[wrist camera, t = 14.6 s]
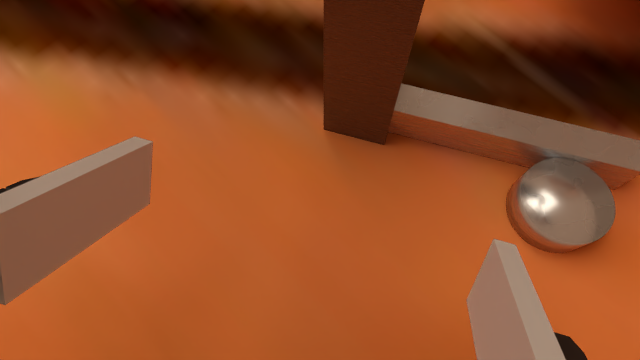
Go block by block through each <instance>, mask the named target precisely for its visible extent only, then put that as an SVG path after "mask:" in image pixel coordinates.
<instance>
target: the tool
mask: <svg viewBox="0 0 640 360" xmlns="http://www.w3.org/2000/svg"><path fill="white" fill-rule="evenodd" d="M424 1H425V0H324V129H325V130H329V131H332V132H336V133H340V134H344V135H348V136H352V137H356V138H359V139H363V140H367V141H371V142H375V143H379V144H383V145H384V143H385V140H386V136H387V133H388V132H391V133H395V134H399V135H402V136H406V137H410V138H414V139H418V140H422V141H426V142H430V143H434V144H438V145H442V146H446V147H450V148H453V149H457V150H461V151H465V152H469V153H473V154H477V155H481V156H485V157H489V158H493V159H497V160H501V161H505V162H508V163H512V164H516V165H520V166H524V167H528V168H531V167H532V166H533V165H535V164H536V163H538V162H540V161H543V160H546V159H551V158H564V159H569V160H573V161H576V162H579V163H581V164H583V165H585V166H587V167H589V168H590V169H592V170H593V171H594V172H595V173H597V174H598V175H599V176H600V177H601V178H602V179H603V180H604V182H605V183H606V184H607V186H608V188H611V189H614V190H615V189H616V188H618V187H620V186H621V185H623V184H625V183H626V182H628V181H630V180H632V179H633V178H635V177H637V176H638V175H640V141H639V140H635V139H631V138H627V137H623V136H619V135H614V134H610V133H606V132H602V131H598V130H593V129H589V128H585V127H581V126H577V125H573V124H568V123H564V122H560V121H556V120H552V119H547V118H543V117H539V116H535V115H531V114H527V113H522V112H518V111H514V110H510V109H506V108H502V107H497V106H493V105H489V104H485V103H481V102H476V101H472V100H468V99H464V98H460V97H456V96H451V95H447V94H443V93H439V92H435V91H430V90H426V89H422V88H418V87H414V86H410V85H405V84H401V83H402V79H403V76H404V72H405V69H406V65H407V61H408V58H409V54H410V51H411V47H412V44H413V40H414V36H415V33H416V29H417V26H418V22H419V19H420V15H421V12H422V8H423V4H424Z"/></svg>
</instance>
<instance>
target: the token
mask: <svg viewBox="0 0 640 360" xmlns="http://www.w3.org/2000/svg"><path fill="white" fill-rule="evenodd" d="M506 211H507V215H508V218H509V221H510V223H511V225H512V226H513V228H514V230H515V231H516V232H517V233H518V235H519V236H520V237H521V238H522V239H524V240H525V241H526V242H527V243H529V244H530V245H532V246H534V247H536V248H538V249H540V250H543V251H547V252H552V253H565V252H570V251H573V250H575V249H577V248H580V247H582V246H584V245H587V244H589V243H591V242H594V241H596V240H598V239H600V238H601V237H603V236H604V235H605V234H606V233H607V232H608V231H609V229H610V228H611V226H612V224H613V222H614V218H615V203H614V199H613V196H612V193H611V191H610V189H609V188H608V186H607V184H606V183H605V182H604V180H603V179H602V178H601V177H600V176H599V175H598V174H597V173H595V172H594V171H593V170H592V169H590V168H589V167H587V166H585V165H583V164H581V163H579V162H576V161H573V160H569V159H564V158H551V159H546V160H543V161H540V162H538V163H536V164H535V165H533V166H532V167H531V168H530V169H529V170H528V171H527V172H525V173H524V174H523V175H522V176H521V177H520V178H519V179H518V180H517V181H516V182H515V183H514V184H513V185H512V186H511V188H510V190H509V192H508V194H507V198H506Z"/></svg>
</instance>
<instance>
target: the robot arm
mask: <svg viewBox="0 0 640 360" xmlns="http://www.w3.org/2000/svg"><path fill="white" fill-rule="evenodd" d="M152 148H153V141H149V140H146V139H142V138H138V137H132V138H130V139H128V140H125V141H123V142H121V143H118V144H116V145H114V146H111V147H109V148H107V149H104V150H102V151H100V152H97V153H95V154H92V155H90V156H88V157H85V158H83V159H81V160H78V161H76V162H74V163H71V164H69V165H67V166H64V167H62V168H60V169H57V170H55V171H53V172H50V173H48V174H45V175H43V176H41V177H36V178H31V179H27V180H22V181H19V182H17V183H15V184H12V185H10V186H7V187H6V189H4V188H3V189H0V303H1V304H3V305H6V304H8V303H9V302H11V301H12V300H13V299H15V298H16V297H18V296H19V295H20V294H22V293H23V292H25V291H26V290H28V289H29V288H30V287H32V286H33V285H35V284H36V283H38V282H39V281H40V280H42V279H43V278H45V277H46V276H48V275H49V274H50V273H52V272H53V271H55V270H56V269H58V268H59V267H60V266H62V265H63V264H65V263H66V262H68V261H69V260H70V259H72V258H73V257H75V256H76V255H77V254H79V253H80V252H82V251H83V250H85V249H86V248H87V247H89V246H90V245H92V244H93V243H95V242H96V241H97V240H99V239H100V238H102V237H103V236H105V235H106V234H107V233H109V232H110V231H112V230H113V229H115V228H116V227H117V226H119V225H120V224H122V223H123V222H125V221H126V220H127V219H129V218H130V217H132V216H133V215H134V214H136V213H137V212H139V211H140V210H142V209H143V208H144V207H146V206H147V205H149V204H150V190H151V169H152ZM467 306H468V311H469V317H470V323H471V328H472V334H473V339H474V345H475V351H476V356H477V360H587V358H586V356H585V354H584V352H583V351H582V350H581V349H580V348H579V347H578V346H577V345H576V343H575V342H574V341H573V340H572V339H571V338H570V337H568V336H565V335H562V334H558V333H555V332H553V329H552V327H551V325H550V322H549V320H548V318H547V315H546V313H545V311H544V309H543V306H542V304H541V302H540V299H539V297H538V295H537V293H536V290H535V288H534V286H533V283H532V281H531V279H530V277H529V274H528V272H527V270H526V267H525V265H524V263H523V261H522V258H521V256H520V254H519V251H518V249H517V247H516V245H514V244H510V243H507V242H503V241H500V240H496V239H493V241H492V244H491V246H490V248H489V250H488V253H487V255H486V257H485V259H484V262H483V264H482V266H481V268H480V271H479V273H478V275H477V277H476V280H475V282H474V284H473V286H472V289H471V291H470V293H469V295H468V298H467Z"/></svg>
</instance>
